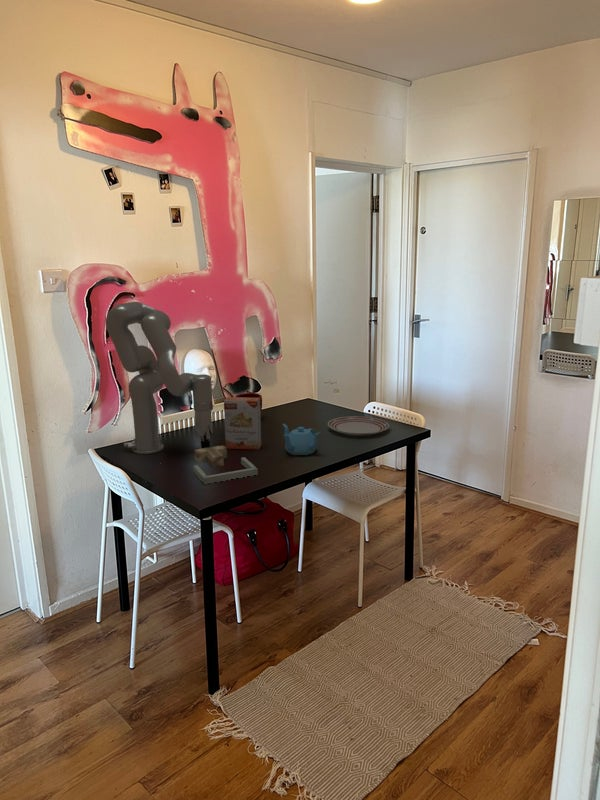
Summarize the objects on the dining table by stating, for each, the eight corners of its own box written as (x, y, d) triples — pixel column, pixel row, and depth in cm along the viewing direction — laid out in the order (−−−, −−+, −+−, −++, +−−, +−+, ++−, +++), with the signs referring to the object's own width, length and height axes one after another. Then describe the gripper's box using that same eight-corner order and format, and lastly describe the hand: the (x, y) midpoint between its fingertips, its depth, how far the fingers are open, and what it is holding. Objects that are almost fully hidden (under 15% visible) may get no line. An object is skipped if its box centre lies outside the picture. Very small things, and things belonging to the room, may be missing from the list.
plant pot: (236, 416, 295) (235, 392, 292) (263, 416, 295) (262, 392, 292) (233, 424, 283) (232, 399, 280) (261, 423, 282) (261, 399, 279)
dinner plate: (359, 418, 289) (359, 411, 289) (402, 431, 268) (402, 424, 267) (315, 429, 273) (315, 422, 272) (356, 444, 252) (356, 436, 251)
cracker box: (225, 449, 248) (222, 400, 243) (229, 444, 254) (226, 396, 248) (258, 450, 246) (257, 400, 241) (261, 445, 252) (260, 397, 246)
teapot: (318, 445, 251) (317, 421, 249) (321, 457, 237) (321, 432, 234) (282, 446, 250) (282, 422, 248) (283, 458, 236) (283, 433, 233)
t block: (203, 469, 226) (202, 459, 225) (194, 459, 237) (194, 449, 236) (233, 464, 231) (233, 454, 230) (224, 454, 242) (223, 445, 241)
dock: (204, 484, 211) (203, 478, 211) (193, 472, 223) (193, 465, 223) (257, 475, 219) (257, 468, 219) (244, 463, 231) (244, 457, 231)
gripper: (188, 402, 244) (191, 446, 248) (199, 411, 231) (201, 457, 235) (206, 400, 247) (209, 443, 252) (218, 409, 234) (220, 454, 238)
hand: (205, 449), depth 243 cm, fingers closed
